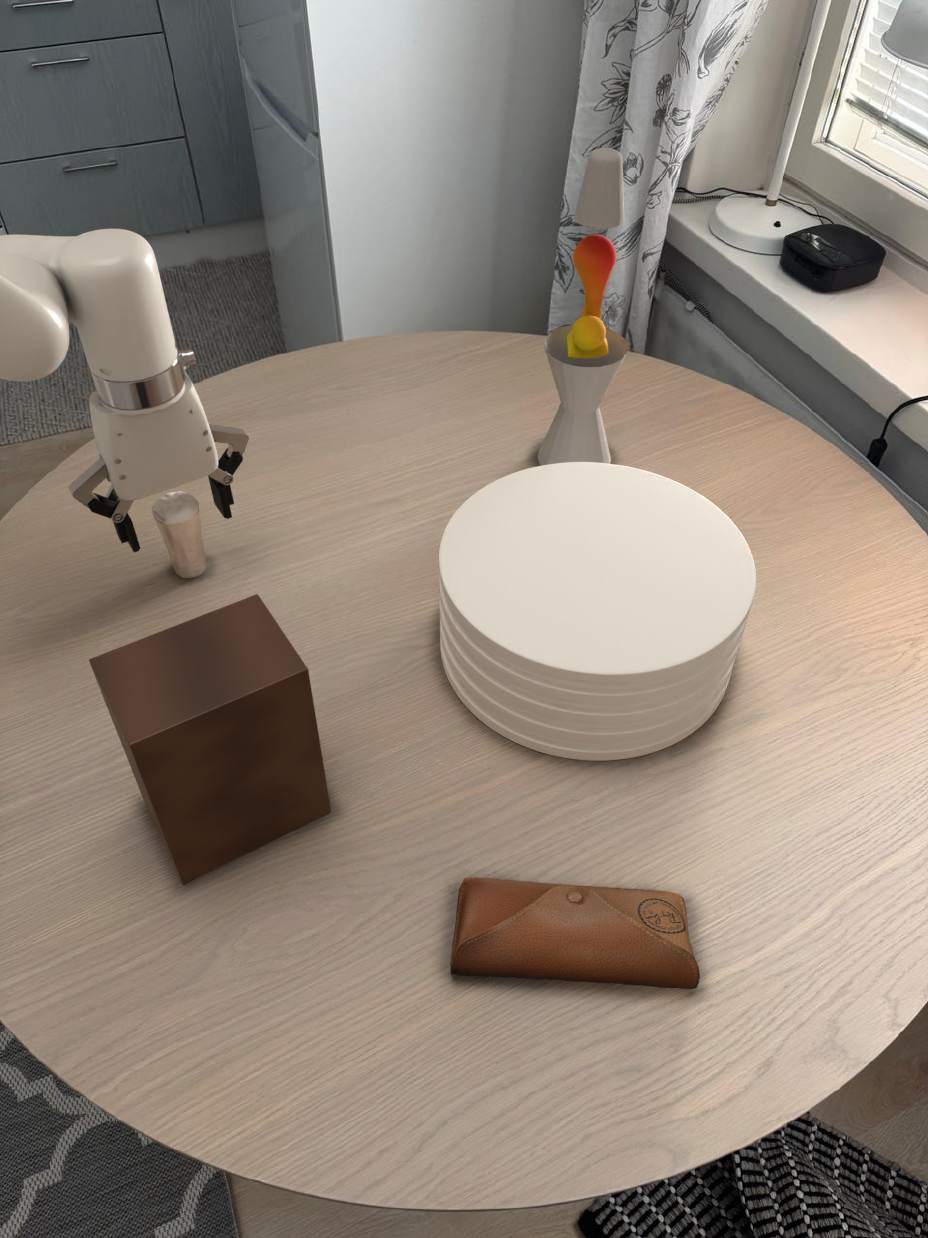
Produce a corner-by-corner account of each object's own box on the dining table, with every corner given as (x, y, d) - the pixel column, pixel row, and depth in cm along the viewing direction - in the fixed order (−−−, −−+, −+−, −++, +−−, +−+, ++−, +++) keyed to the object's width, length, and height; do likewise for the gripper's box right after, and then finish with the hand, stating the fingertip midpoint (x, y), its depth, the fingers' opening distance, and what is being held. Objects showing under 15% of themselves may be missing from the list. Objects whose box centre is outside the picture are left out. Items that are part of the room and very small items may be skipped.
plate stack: (764, 754, 88) (796, 667, 79) (446, 767, 86) (445, 680, 78) (695, 544, 107) (715, 457, 99) (435, 553, 106) (433, 465, 98)
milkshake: (156, 582, 103) (133, 506, 96) (182, 549, 106) (163, 474, 99) (195, 592, 102) (175, 516, 94) (220, 559, 105) (203, 483, 98)
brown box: (182, 885, 78) (129, 745, 66) (141, 796, 84) (84, 652, 71) (331, 812, 83) (308, 668, 70) (282, 732, 89) (253, 586, 76)
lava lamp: (535, 434, 121) (556, 133, 96) (610, 436, 121) (650, 135, 96) (536, 480, 115) (559, 170, 90) (615, 482, 115) (659, 172, 90)
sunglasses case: (685, 887, 78) (703, 889, 71) (686, 982, 76) (704, 993, 70) (455, 876, 78) (452, 877, 72) (451, 970, 77) (447, 980, 70)
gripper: (215, 332, 93) (244, 479, 105) (27, 386, 87) (82, 536, 99) (247, 369, 88) (273, 518, 101) (51, 428, 82) (105, 580, 94)
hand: (178, 527), depth 100 cm, fingers open, 9 cm apart
